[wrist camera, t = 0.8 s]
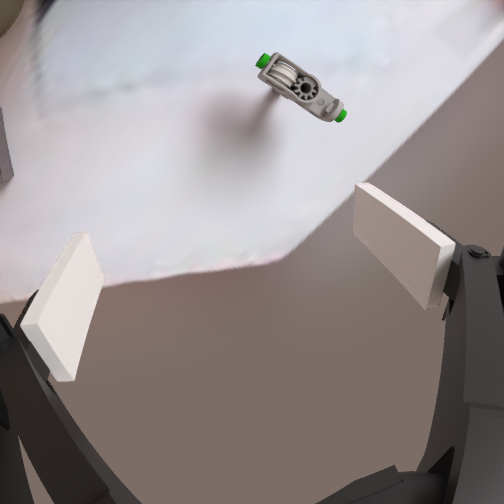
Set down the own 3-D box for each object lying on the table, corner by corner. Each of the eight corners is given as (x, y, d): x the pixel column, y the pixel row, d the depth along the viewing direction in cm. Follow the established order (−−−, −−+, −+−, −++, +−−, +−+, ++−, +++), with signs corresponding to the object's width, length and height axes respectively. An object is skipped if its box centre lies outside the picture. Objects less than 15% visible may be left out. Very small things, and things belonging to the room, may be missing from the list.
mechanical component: (305, 119, 38) (338, 129, 30) (238, 75, 34) (253, 70, 25) (317, 101, 37) (353, 106, 29) (251, 56, 33) (271, 46, 25)
